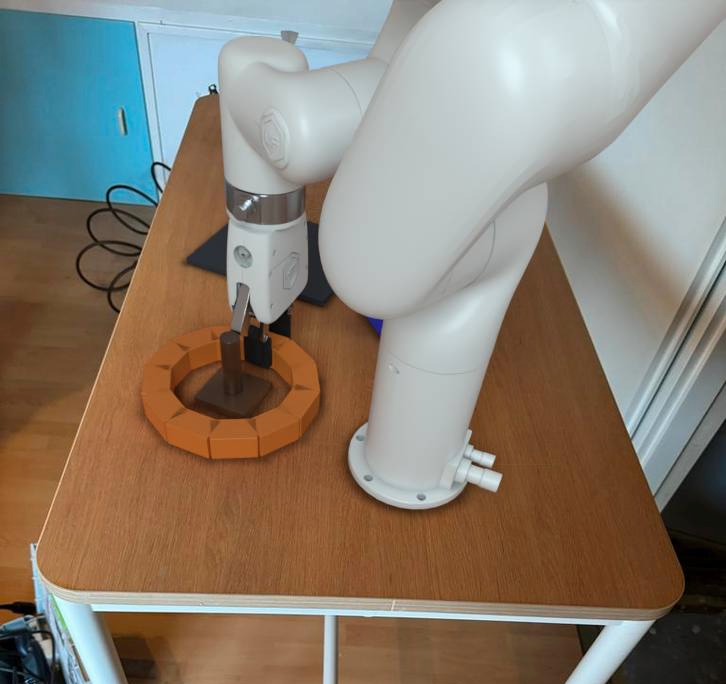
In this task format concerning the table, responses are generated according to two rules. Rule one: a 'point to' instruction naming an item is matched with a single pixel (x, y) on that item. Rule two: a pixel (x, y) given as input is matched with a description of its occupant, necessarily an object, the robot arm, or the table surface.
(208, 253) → the mat
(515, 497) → the table surface
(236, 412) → the stand
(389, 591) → the table surface
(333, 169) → the robot arm
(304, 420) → the ring
